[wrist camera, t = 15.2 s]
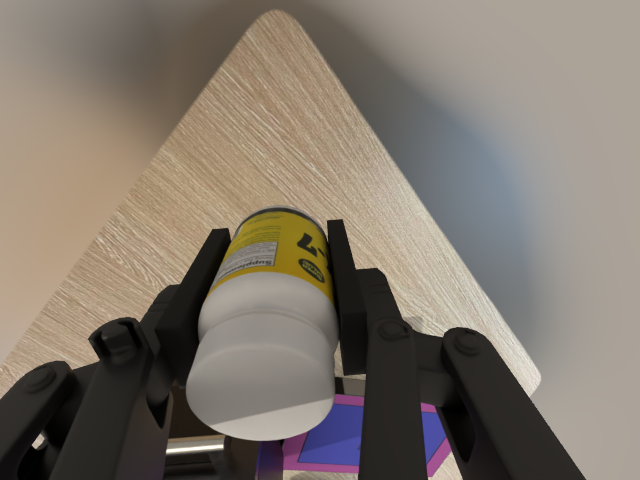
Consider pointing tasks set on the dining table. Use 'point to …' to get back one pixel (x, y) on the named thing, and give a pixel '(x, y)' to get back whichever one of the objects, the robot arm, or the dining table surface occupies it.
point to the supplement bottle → (268, 331)
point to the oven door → (205, 448)
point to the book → (353, 436)
